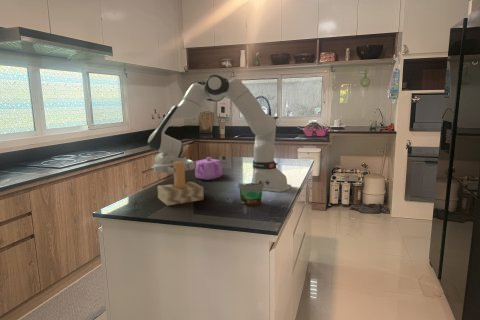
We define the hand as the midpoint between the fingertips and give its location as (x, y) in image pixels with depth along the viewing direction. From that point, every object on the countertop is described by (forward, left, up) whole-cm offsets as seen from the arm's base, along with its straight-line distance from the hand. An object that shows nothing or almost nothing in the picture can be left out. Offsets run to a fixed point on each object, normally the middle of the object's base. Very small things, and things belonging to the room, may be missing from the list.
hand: (179, 169), depth 159 cm
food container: (-33, -13, -15) cm, 39 cm away
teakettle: (+21, -45, -15) cm, 52 cm away
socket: (+1, -1, -15) cm, 15 cm away
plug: (+1, 0, -11) cm, 11 cm away
